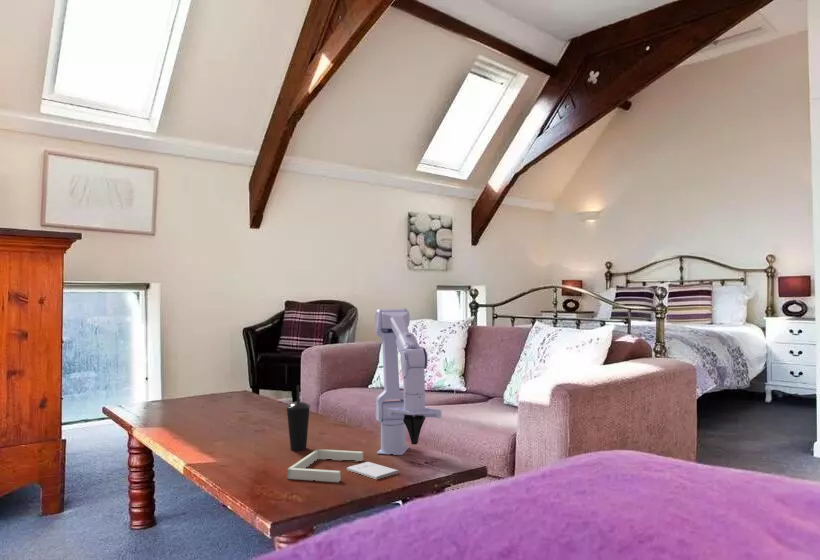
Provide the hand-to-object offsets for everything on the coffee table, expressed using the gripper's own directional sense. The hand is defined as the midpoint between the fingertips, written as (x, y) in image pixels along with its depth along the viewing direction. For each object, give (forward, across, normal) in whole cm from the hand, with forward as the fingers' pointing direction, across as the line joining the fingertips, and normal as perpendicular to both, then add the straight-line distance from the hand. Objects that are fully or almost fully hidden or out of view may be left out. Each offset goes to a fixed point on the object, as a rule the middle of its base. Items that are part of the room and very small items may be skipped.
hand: (414, 443), depth 160 cm
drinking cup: (+8, -42, +18) cm, 46 cm away
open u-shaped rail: (+8, -25, 0) cm, 26 cm away
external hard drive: (+9, -12, 0) cm, 15 cm away
